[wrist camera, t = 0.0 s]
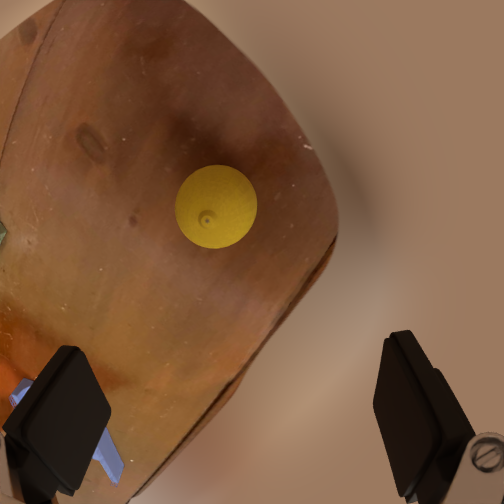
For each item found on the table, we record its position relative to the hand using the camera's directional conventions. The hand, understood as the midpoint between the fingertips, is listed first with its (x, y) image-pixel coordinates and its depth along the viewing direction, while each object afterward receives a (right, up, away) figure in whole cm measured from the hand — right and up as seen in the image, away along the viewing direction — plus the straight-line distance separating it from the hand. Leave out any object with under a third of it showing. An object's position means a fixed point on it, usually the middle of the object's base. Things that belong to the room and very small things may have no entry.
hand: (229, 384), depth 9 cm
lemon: (-2, +9, +17) cm, 19 cm away
